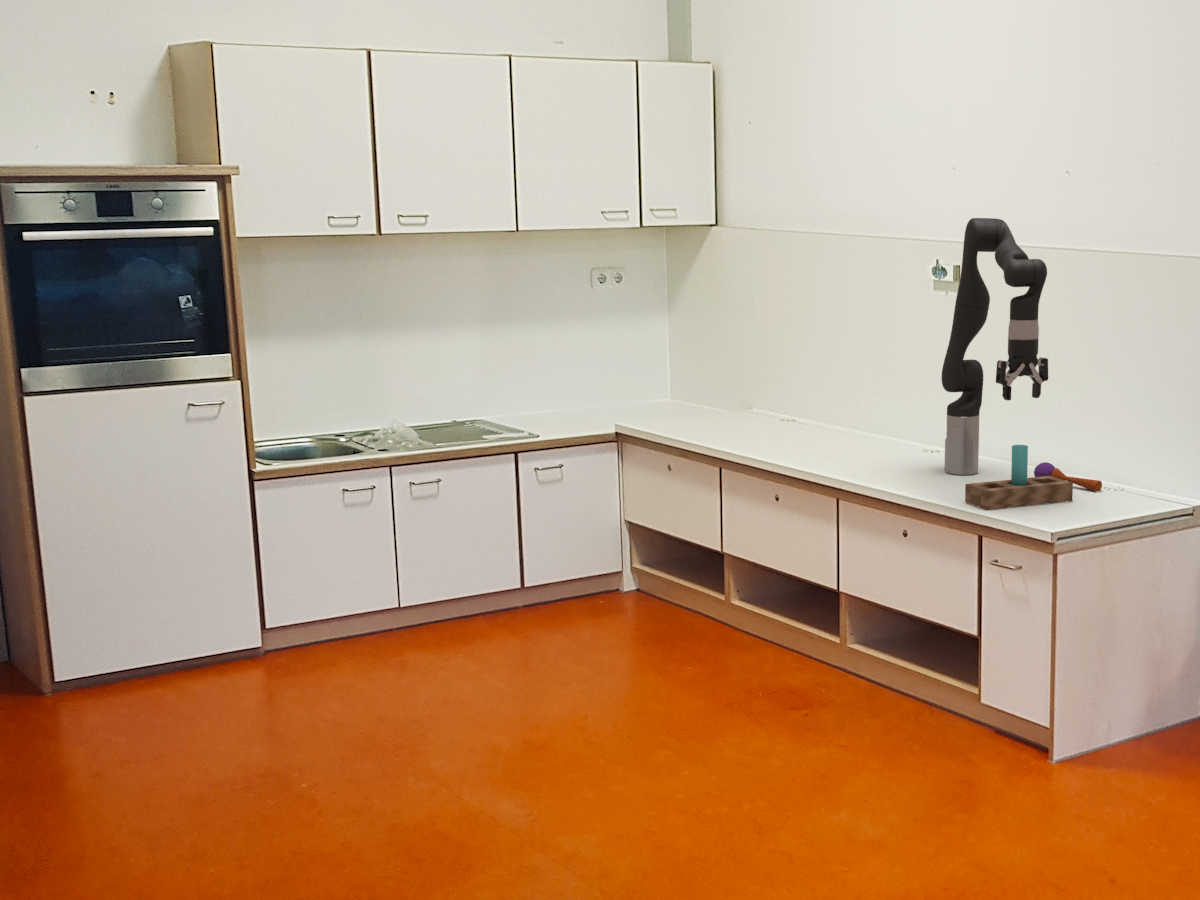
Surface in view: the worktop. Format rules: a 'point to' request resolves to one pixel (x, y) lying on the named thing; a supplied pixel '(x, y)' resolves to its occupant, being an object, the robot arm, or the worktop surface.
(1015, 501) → the bore block
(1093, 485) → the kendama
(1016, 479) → the pin
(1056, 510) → the worktop surface
